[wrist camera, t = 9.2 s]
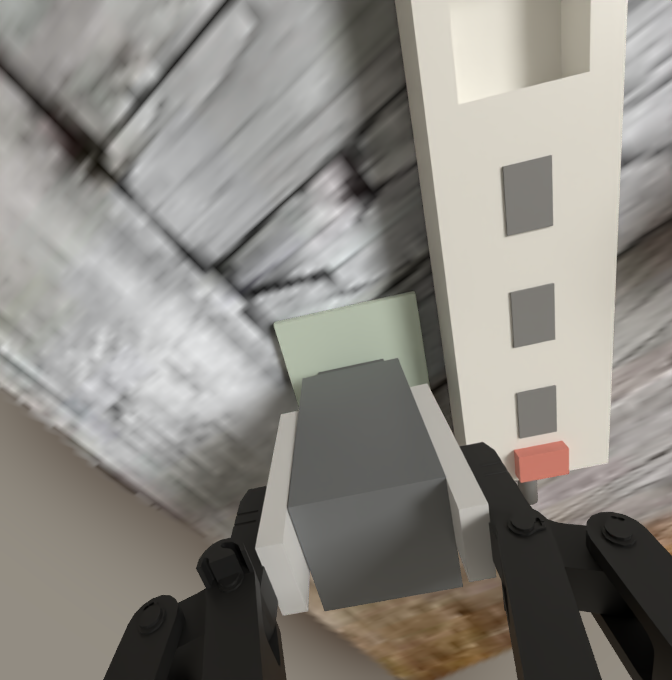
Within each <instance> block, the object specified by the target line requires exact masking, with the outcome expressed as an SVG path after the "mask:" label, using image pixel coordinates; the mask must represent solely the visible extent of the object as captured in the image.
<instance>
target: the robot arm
mask: <svg viewBox="0 0 672 680" xmlns="http://www.w3.org/2000/svg"><path fill="white" fill-rule="evenodd" d="M410 389H411V391H412V394H413V396H414V399H415V401H416V404H417V406H418V409H419V411H420V414H421V416H422V419H423V421H424V424H425V426H426V428H427V431H428V433H429V436H430V438H431V441H432V443H433V446H434V448H435V451H436V453H437V456H438V458H439V461H440V463H441V465H442V468H443V470H444V473H445V475H446V481H447V488H448V494H449V501H450V507H451V514H452V520H453V527H454V533H455V540H456V546H457V549H458V552H459V555H460V557H461V560H462V563H463V566H464V568H465V571H466V574H467V577H468V580H469V582H473V581H478V580H484V579H490V578H495V577H496V570H495V567H496V569H497V571H498V573H499V576H500V578H501V580H502V590H503V600H504V610H505V611H506V614H507V620H508V626H509V632H510V637H511V643H512V649H513V654H514V661H515V666H516V672H517V678H518V680H602V679H601V676H600V673H599V670H598V667H597V664H596V661H595V658H594V655H593V652H592V649H591V646H590V643H589V640H588V637H587V634H586V631H585V628H584V625H583V622H582V619H581V616H580V613H579V611H586V612H591V613H592V615H593V617H594V618H595V620H596V621H597V623H598V625H599V626H600V628H601V629H602V631H603V633H604V634H605V636H606V637H607V639H608V641H609V642H610V644H611V645H612V647H613V649H614V650H615V652H616V654H617V655H618V657H619V659H620V660H621V662H622V663H623V665H624V666H625V668H626V670H627V671H628V673H629V675H630V676H631V678H632V679H633V680H672V556H671V555H670V553H669V552H668V551H667V550H666V549H665V548H664V547H663V546H662V545H661V544H660V543H659V542H658V541H657V540H656V538H655V537H654V536H653V535H652V534H651V533H650V532H649V531H648V530H647V529H646V528H645V527H644V526H643V525H641V524H640V523H639V522H638V521H636V520H634V519H632V518H630V517H628V516H626V515H623V514H619V513H614V512H600V513H598V514H595V515H592V516H591V517H590V519H589V520H588V521H587V526H585V525H573V524H563V523H558V522H554V521H551V520H548V519H546V517H544V516H543V515H542V514H541V513H539V512H538V511H536V510H534V509H532V507H531V506H530V505H529V503H528V502H527V500H526V499H525V497H524V495H523V494H522V492H521V491H520V489H519V488H518V486H517V484H516V483H515V481H514V480H513V478H512V476H511V475H510V473H509V472H508V471H507V469H506V467H505V465H504V464H503V463H502V461H501V459H500V457H499V456H498V454H497V453H496V451H495V450H494V449H493V448H491V447H490V446H488V445H487V444H485V443H484V442H479V443H474V444H469V445H464V446H459V445H458V443H457V441H456V439H455V437H454V435H453V433H452V431H451V429H450V427H449V425H448V423H447V421H446V419H445V417H444V415H443V413H442V411H441V409H440V408H439V406H438V404H437V402H436V400H435V398H434V396H433V394H432V392H431V390H430V388H429V386H428V384H422V385H418V386H413V387H410ZM298 413H299V411H294V412H289V413H285V414H281V416H280V421H279V426H278V432H277V437H276V442H275V447H274V452H273V458H272V463H271V468H270V473H269V478H268V483H267V486H264V487H259V488H254V489H249V490H248V492H247V493H246V494H245V496H244V497H243V499H242V500H241V501H240V505H239V509H238V512H237V516H236V520H235V524H234V525H235V527H233V531H232V535H231V538H227V539H223V540H220V541H218V542H216V543H214V544H213V545H211V546H210V547H209V548H208V549H207V550H206V551H205V552H204V553H203V554H202V556H201V558H200V559H199V561H198V564H197V567H196V569H197V571H198V573H199V575H200V577H201V579H202V581H203V583H204V585H205V587H206V589H204V590H202V591H200V592H199V593H197V594H195V595H193V596H191V597H189V598H187V599H185V600H183V601H181V602H179V603H177V601H176V599H175V598H173V597H172V596H170V595H161V596H159V597H156V598H153V599H151V600H150V601H148V602H147V603H145V604H144V605H143V606H142V607H141V608H140V609H139V610H138V611H137V612H136V613H135V614H134V616H133V617H132V619H131V620H130V622H129V624H128V626H127V628H126V630H125V633H124V635H123V637H122V639H121V642H120V644H119V646H118V648H117V650H116V653H115V655H114V657H113V659H112V662H111V664H110V666H109V668H108V670H107V673H106V675H105V677H104V679H103V680H286V673H285V665H284V657H283V649H282V642H281V633H280V629H279V627H278V624H277V622H276V616H277V607H278V605H279V608H280V610H281V612H282V615H283V616H284V615H289V614H294V613H300V612H306V611H308V602H309V578H310V569H309V566H308V563H307V560H306V558H305V555H304V552H303V549H302V546H301V544H300V541H299V538H298V535H297V532H296V530H295V527H294V524H293V521H292V519H291V516H290V513H289V510H288V500H289V492H290V483H291V474H292V465H293V456H294V448H295V439H296V430H297V421H298Z"/></svg>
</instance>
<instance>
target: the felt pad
mask: <svg viewBox="0 0 672 680" xmlns="http://www.w3.org/2000/svg"><path fill="white" fill-rule="evenodd" d="M274 328H275V331H276V334H277V338H278V341H279V344H280V347H281V351H282V354H283V357H284V360H285V364H286V367H287V370H288V373H289V377H290V380H291V383H292V386H293V390H294V393H295V396H296V399H297V403H298V406H299V404H300V395H301V386H302V378H307V377H311V376H316V375H318V372H323V371H327V370H332V369H337V368H341V367H346V366H350V365H355V364H360V363H364V362H369V361H374V360H379V359H384V361H385V360H390V359H395V358H398V359H399V362H400V364H401V367H402V369H403V372H404V374H405V377H406V379H407V382H408V384H409V386H410V387H413V386H418V385H422V384H428V386H429V388H430V384H429V378H428V371H427V365H426V358H425V352H424V346H423V339H422V333H421V327H420V320H419V314H418V307H417V301H416V295H415V292H414V291H411V292H407V293H402V294H398V295H393V296H389V297H384V298H380V299H375V300H371V301H367V302H362V303H358V304H353V305H349V306H344V307H340V308H335V309H331V310H326V311H322V312H317V313H313V314H308V315H304V316H300V317H295V318H291V319H286V320H282V321H277V322H274Z"/></svg>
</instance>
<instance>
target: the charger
mask: <svg viewBox="0 0 672 680" xmlns="http://www.w3.org/2000/svg"><path fill="white" fill-rule="evenodd" d="M288 510H289V513H290V516H291V519H292V521H293V524H294V527H295V530H296V532H297V535H298V538H299V541H300V544H301V546H302V549H303V552H304V555H305V558H306V560H307V563H308V566H309V569H310V571H311V574H312V577H313V580H314V583H315V585H316V588H317V591H318V594H319V597H320V599H321V602H322V605H323V608H324V611H329V610H335V609H340V608H346V607H352V606H357V605H363V604H368V603H374V602H380V601H385V600H391V599H396V598H402V597H408V596H413V595H419V594H425V593H430V592H436V591H441V590H447V589H453V588H458V587H463V584H462V577H461V571H460V564H459V558H458V551H457V546H456V540H455V533H454V527H453V520H452V514H451V507H450V501H449V494H448V488H447V481H446V475H445V473H444V470H443V468H442V465H441V463H440V461H439V458H438V456H437V453H436V451H435V448H434V446H433V443H432V441H431V438H430V436H429V433H428V431H427V428H426V426H425V424H424V421H423V419H422V416H421V414H420V411H419V409H418V406H417V404H416V401H415V399H414V396H413V394H412V391H411V389H410V386H409V384H408V382H407V379H406V377H405V374H404V372H403V369H402V367H401V364H400V362H399V359H398V358H395V359H390V360H385V361H384V359H379V360H374V361H369V362H364V363H360V364H355V365H350V366H346V367H341V368H337V369H332V370H327V371H323V372H318V375H316V376H311V377H307V378H302V386H301V395H300V404H299V413H298V421H297V430H296V439H295V448H294V456H293V465H292V474H291V483H290V492H289V500H288Z"/></svg>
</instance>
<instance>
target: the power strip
mask: <svg viewBox="0 0 672 680" xmlns="http://www.w3.org/2000/svg"><path fill="white" fill-rule="evenodd" d="M627 3H628V0H395V6H396V13H397V20H398V28H399V35H400V42H401V49H402V57H403V64H404V71H405V79H406V86H407V93H408V101H409V108H410V115H411V122H412V130H413V137H414V144H415V152H416V159H417V166H418V173H419V181H420V188H421V195H422V203H423V210H424V217H425V224H426V232H427V239H428V246H429V254H430V261H431V268H432V275H433V283H434V290H435V297H436V305H437V312H438V319H439V327H440V334H441V341H442V348H443V356H444V363H445V370H446V378H447V385H448V392H449V399H450V407H451V414H452V421H453V429H454V436H455V439H456V441H457V443H458V445H459V446H464V445H469V444H474V443H479V442H484V443H485V444H487V445H488V446H490V447H491V448H493V449H494V450H495V451H496V453H497V454H498V456H499V457H500V459H501V461H502V463H503V464H504V465H505V467H506V469H507V471H508V472H509V473H510V475H511V476H512V478H513V480H514V481H516V480H518V488H519V489H520V491H521V492H522V494H523V495H524V497H525V499H526V500H527V502H528V503H529V505H533V504H535V503H537V501H538V493H537V480H539V479H544V478H549V477H555V476H560V475H565V474H569V470H575V469H580V468H585V467H590V466H596V465H601V464H606V463H608V453H609V430H610V406H611V382H612V358H613V335H614V311H615V287H616V264H617V240H618V216H619V193H620V169H621V145H622V121H623V98H624V74H625V50H626V27H627Z"/></svg>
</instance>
